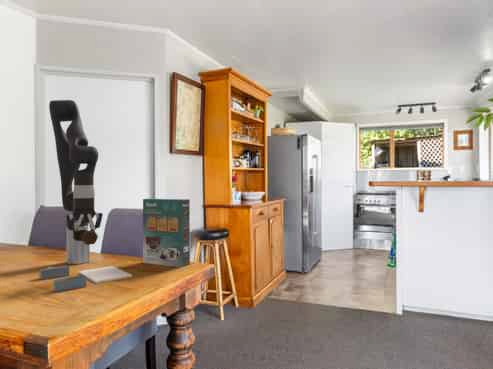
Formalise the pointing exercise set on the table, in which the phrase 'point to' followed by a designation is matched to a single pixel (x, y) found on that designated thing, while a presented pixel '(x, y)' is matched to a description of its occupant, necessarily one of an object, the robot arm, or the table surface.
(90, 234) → the bolt
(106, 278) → the board
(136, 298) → the table surface
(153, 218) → the cake mix box
